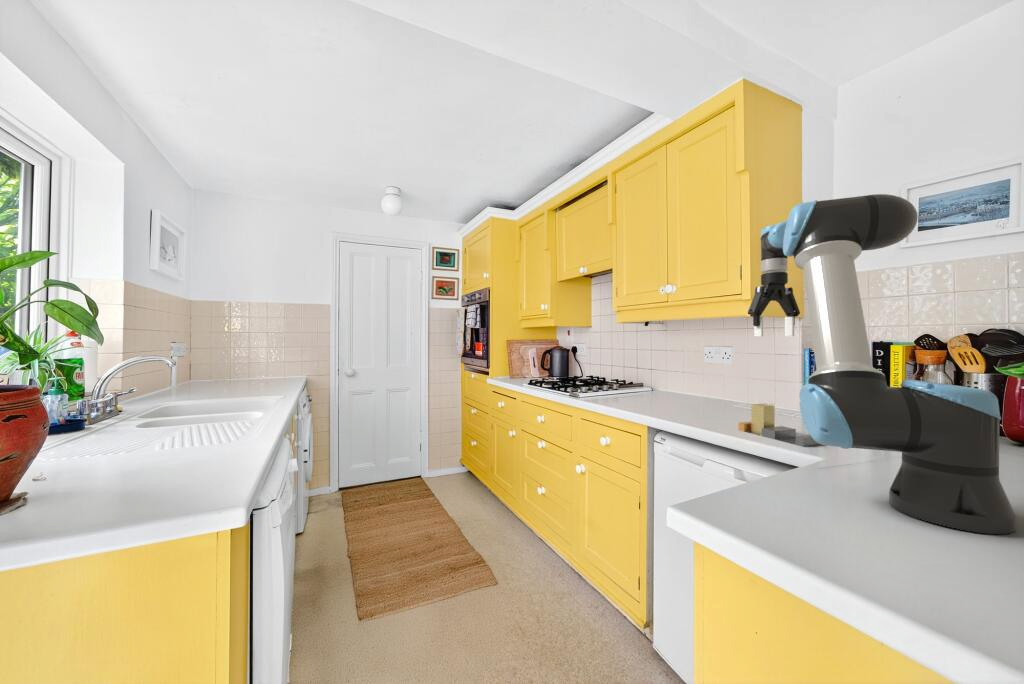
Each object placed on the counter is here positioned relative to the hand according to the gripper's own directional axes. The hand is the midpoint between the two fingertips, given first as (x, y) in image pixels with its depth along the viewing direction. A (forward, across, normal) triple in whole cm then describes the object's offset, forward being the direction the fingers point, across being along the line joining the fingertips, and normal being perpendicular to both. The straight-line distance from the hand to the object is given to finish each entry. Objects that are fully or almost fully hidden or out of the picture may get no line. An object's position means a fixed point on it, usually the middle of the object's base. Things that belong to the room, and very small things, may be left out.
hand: (774, 336), depth 135 cm
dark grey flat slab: (+32, -8, -8) cm, 34 cm away
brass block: (+31, -8, -2) cm, 32 cm away
